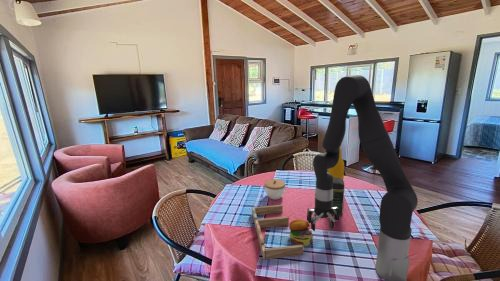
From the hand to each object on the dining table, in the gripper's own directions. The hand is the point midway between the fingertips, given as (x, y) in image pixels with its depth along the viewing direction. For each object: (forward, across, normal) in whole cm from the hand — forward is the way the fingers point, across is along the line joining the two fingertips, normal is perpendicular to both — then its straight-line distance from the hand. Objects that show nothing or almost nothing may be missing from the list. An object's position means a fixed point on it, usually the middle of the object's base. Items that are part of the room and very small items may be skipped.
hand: (322, 229), depth 107 cm
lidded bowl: (+4, -13, +41) cm, 43 cm away
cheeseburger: (+4, -11, 0) cm, 11 cm away
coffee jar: (+4, +15, +19) cm, 25 cm away
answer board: (+4, -21, +6) cm, 22 cm away
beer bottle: (+4, +26, +41) cm, 49 cm away
